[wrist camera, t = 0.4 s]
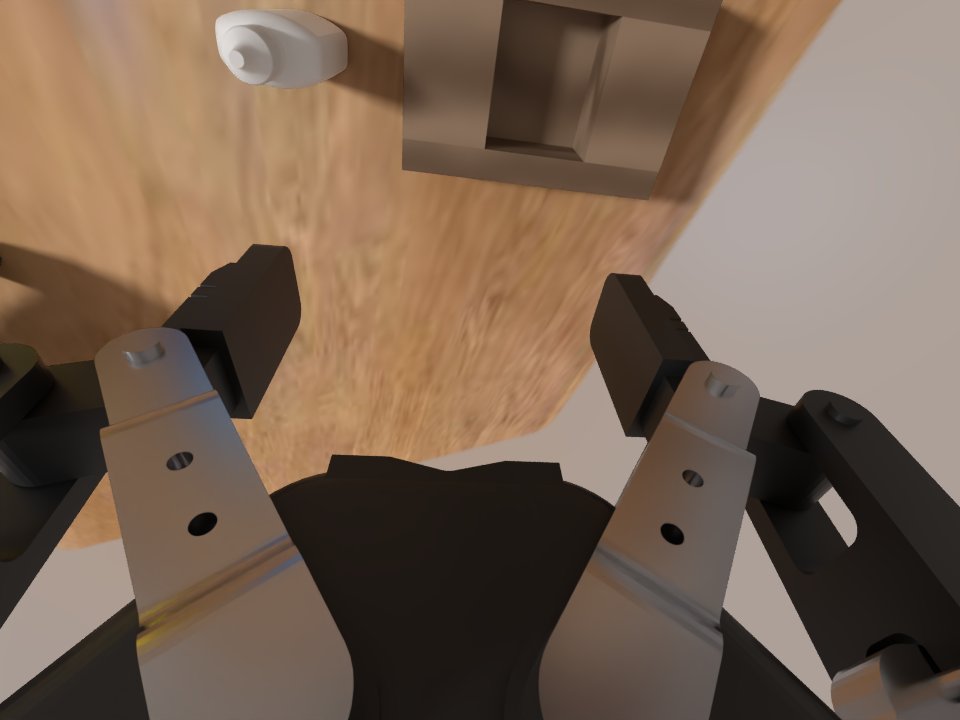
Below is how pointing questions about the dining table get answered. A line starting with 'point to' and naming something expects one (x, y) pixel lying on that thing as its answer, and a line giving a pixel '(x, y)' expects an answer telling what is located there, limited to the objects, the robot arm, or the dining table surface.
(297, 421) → the dining table surface
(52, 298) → the dining table surface
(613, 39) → the walnut holder
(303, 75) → the eye dropper bottle
